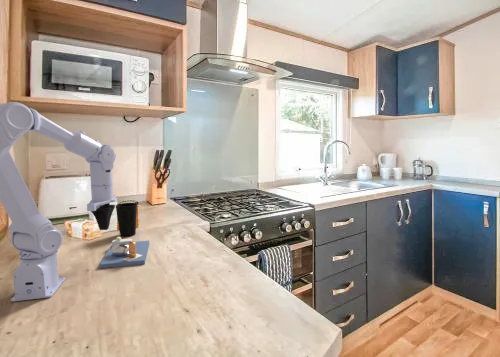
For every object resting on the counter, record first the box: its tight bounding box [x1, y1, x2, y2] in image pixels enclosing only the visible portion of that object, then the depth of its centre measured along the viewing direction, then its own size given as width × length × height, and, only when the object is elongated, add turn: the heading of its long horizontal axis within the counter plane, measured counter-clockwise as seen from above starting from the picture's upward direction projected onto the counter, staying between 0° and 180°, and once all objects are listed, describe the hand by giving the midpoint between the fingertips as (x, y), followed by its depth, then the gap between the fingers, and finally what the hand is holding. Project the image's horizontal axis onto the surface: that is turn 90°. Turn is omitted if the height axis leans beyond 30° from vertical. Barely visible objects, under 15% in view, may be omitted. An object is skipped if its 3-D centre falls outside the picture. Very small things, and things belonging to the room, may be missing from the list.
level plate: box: [99, 236, 150, 269], centre depth 91 cm, size 18×12×4 cm, turn 15°
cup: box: [115, 202, 138, 238], centre depth 111 cm, size 8×8×12 cm
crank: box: [112, 241, 137, 258], centre depth 87 cm, size 9×5×4 cm, turn 60°
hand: (104, 229), depth 86 cm, fingers closed
